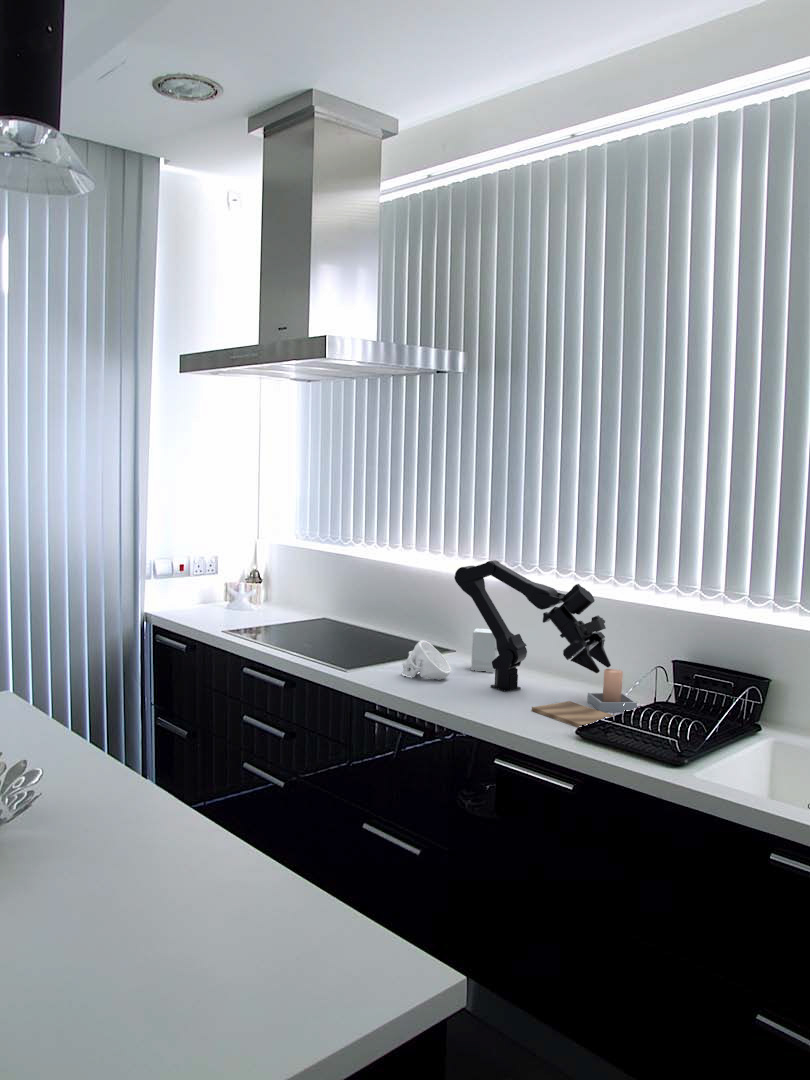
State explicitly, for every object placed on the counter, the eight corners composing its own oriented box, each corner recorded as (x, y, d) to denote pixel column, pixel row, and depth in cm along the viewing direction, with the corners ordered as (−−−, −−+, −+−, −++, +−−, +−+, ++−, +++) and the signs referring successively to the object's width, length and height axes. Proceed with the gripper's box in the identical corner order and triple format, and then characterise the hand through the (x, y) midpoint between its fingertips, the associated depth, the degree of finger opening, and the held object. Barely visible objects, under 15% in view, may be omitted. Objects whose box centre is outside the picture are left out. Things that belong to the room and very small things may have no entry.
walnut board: (531, 710, 245) (531, 707, 245) (569, 704, 253) (569, 701, 253) (580, 728, 230) (581, 724, 230) (619, 721, 238) (619, 717, 238)
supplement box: (494, 673, 288) (495, 633, 287) (470, 671, 289) (472, 631, 288) (496, 668, 295) (498, 629, 294) (473, 666, 297) (475, 627, 296)
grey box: (599, 711, 247) (600, 702, 246) (587, 701, 257) (587, 693, 257) (636, 711, 248) (636, 702, 248) (622, 701, 258) (622, 693, 258)
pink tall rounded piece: (598, 705, 253) (600, 669, 252) (610, 703, 256) (612, 668, 255) (612, 710, 249) (614, 673, 248) (624, 707, 252) (626, 671, 251)
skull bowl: (404, 666, 287) (424, 635, 284) (438, 695, 283) (459, 664, 279) (389, 672, 278) (411, 640, 274) (424, 702, 273) (446, 670, 270)
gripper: (576, 610, 246) (614, 657, 242) (599, 603, 262) (635, 646, 258) (547, 636, 251) (584, 682, 246) (572, 627, 267) (607, 670, 262)
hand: (604, 669), depth 253 cm, fingers open, 9 cm apart
